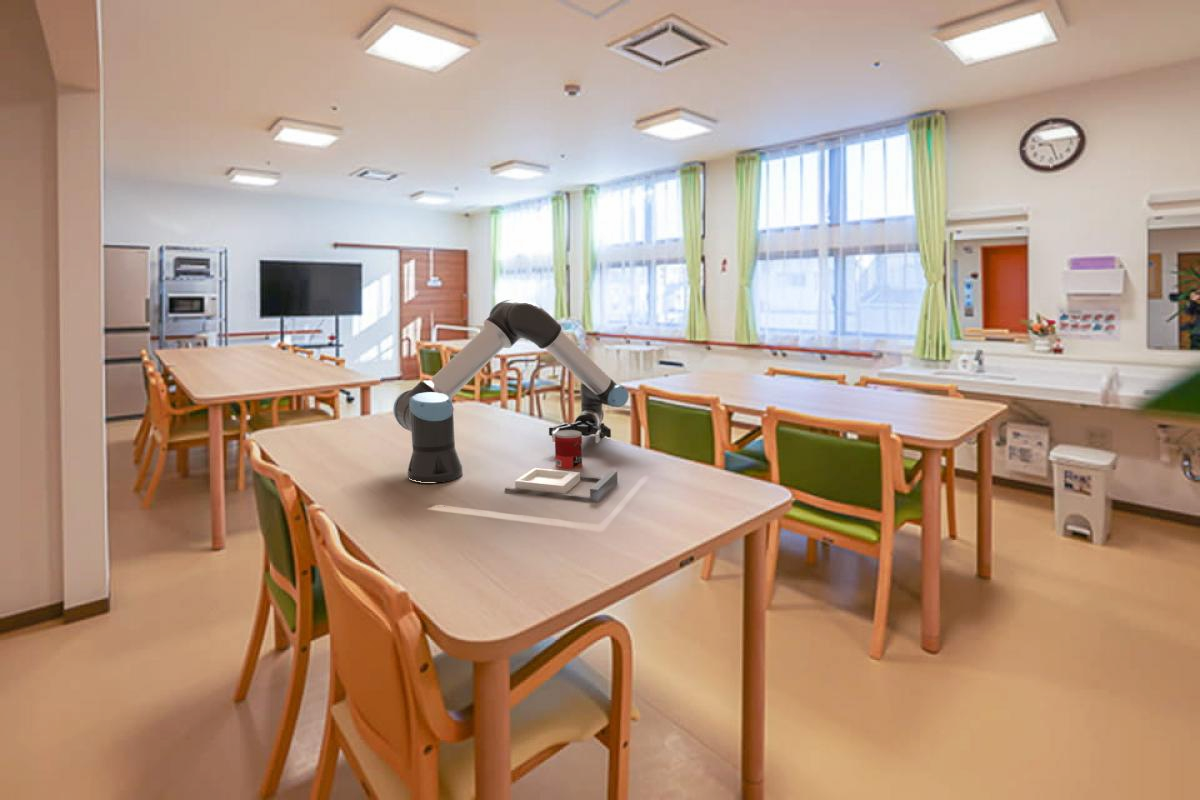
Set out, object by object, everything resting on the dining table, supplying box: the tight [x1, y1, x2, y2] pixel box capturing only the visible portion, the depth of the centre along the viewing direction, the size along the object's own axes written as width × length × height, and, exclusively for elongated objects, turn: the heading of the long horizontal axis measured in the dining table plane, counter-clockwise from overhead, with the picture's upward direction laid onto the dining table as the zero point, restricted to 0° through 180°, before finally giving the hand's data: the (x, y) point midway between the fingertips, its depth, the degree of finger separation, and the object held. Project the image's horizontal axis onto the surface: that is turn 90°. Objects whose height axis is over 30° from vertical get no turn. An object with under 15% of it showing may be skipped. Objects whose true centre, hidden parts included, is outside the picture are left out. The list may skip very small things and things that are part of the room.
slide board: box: [504, 470, 618, 503], centre depth 160 cm, size 27×16×4 cm, turn 71°
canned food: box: [554, 430, 583, 470], centre depth 180 cm, size 8×8×11 cm
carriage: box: [514, 467, 581, 494], centre depth 162 cm, size 14×12×2 cm
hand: (574, 438), depth 188 cm, fingers open, 13 cm apart
